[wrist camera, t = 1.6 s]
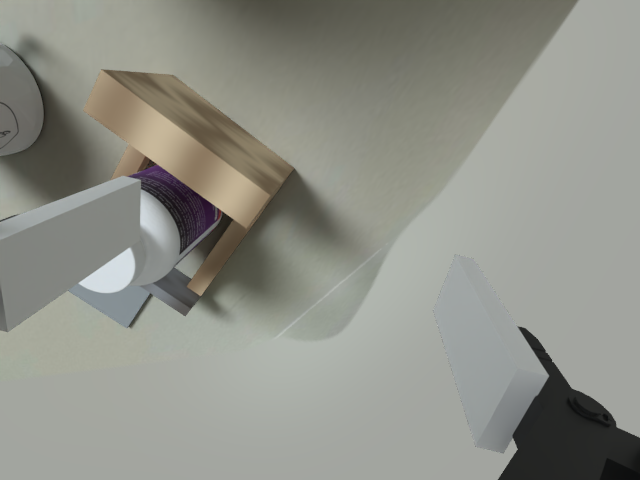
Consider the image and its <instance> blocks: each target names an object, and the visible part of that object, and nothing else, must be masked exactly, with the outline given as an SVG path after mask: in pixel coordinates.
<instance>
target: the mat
mask: <svg viewBox="0 0 640 480" xmlns="http://www.w3.org/2000/svg"><path fill="white" fill-rule="evenodd" d="M68 291H69V292H71V293H72V294H74V295H75V296H77V297H79V298H80V299H82V300H83V301H85V302H86V303H88V304H90V305H91V306H93V307H94V308H96V309H97V310H99V311H100V312H102V313H104V314H105V315H107V316H108V317H110V318H111V319H113V320H115V321H116V322H118V323H119V324H121V325H122V326H124V327H126V328H128V327H129V325H130V324H131V322H132V321H133V319H134V318H135V316H136V315H137V313H138V312H139V310H140V309H141V307H142V305H143V304H144V302H145V301H146V299H147V298H148V296H149V295H150V293H149V292H148V291H146V290H145V289H143V288H142V287H140V286H127V287H126V288H124V289H123V290H121V291H118V292H114V293H99V292H95V291H92V290H89V289H87V288H85V287H83V286H82V285H80V284H76V285H75V286H73V287H72V288H71V289H69V290H68Z"/></svg>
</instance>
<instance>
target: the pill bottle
mask: <svg viewBox="0 0 640 480" xmlns="http://www.w3.org/2000/svg"><path fill="white" fill-rule="evenodd" d="M127 177H131V178H135V179H139V180H141V206H140V241H138V242H137V243H135V244H134V245H132V246H131V247H130V248H128V249H127V250H125V251H124V252H122V253H121V254H120V255H118V256H117V257H115V258H114V259H112V260H111V261H109V262H108V263H107V264H105V265H104V266H102V267H101V268H99V269H98V270H96V271H95V272H94V273H92V274H91V275H89V276H88V277H86V278H85V279H84V280H82V281H81V282H79V283H78V284H80V285H82V286H83V287H85V288H87V289H89V290H92V291H95V292H99V293H114V292H118V291H121V290H123V289H124V288H126V287H127V286H141V285H147V284H150V283H153V282H156V281H158V280H160V279H161V278H163V277H164V276H165V275H167V274H168V273H169V272H170V271H171V270H172V269H173V268H174V267H175V266H176V265H177V264H178V263H179V262H180V261H181V260H182V259H183V258H184V257H185V256H186V255H187V254H188V253H189V252H190V251H192V250H193V249H194V248H195V247H196V246H197V245H198V244H199V243H200V242H201V241H202V240H203V239H204V238H205V237H206V236H207V235H209V234H210V233H211V232H212V231H213V230H214V229H215V228H216V226H217V225H218V223H219V222H220V220H221V217H222V214H223V211H221V210H220V209H219V208H217V207H216V206H214V205H213V204H212V203H210V202H209V201H208V200H206V199H205V198H203V197H202V196H201V195H199V194H198V193H196V192H195V191H194V190H192V189H191V188H190V187H188V186H187V185H185V184H184V183H183V182H181V181H180V180H178V179H177V178H176V177H174V176H173V175H172V174H170V173H169V172H167V171H166V170H165V169H163V168H162V167H160V166H159V165H156V166H153V167H151V168H148V169H146V170H143V171H140V172H138V173H135V174H132V175H130V176H127Z"/></svg>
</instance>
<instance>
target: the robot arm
mask: <svg viewBox="0 0 640 480" xmlns="http://www.w3.org/2000/svg"><path fill="white" fill-rule="evenodd" d="M140 206H141V180H139V179H135V178H131V177H126V176H121V177H118V178H115V179H113V180H110V181H108V182H105V183H102V184H100V185H97V186H94V187H92V188H89V189H86V190H84V191H81V192H78V193H76V194H73V195H70V196H68V197H65V198H62V199H60V200H57V201H54V202H52V203H49V204H46V205H44V206H41V207H38V208H36V209H33V210H30V211H28V212H25V213H22V214H19V215H14V216H11V217H8V218H6V219H3V220H0V330H1V331H5V332H9V331H10V330H11V329H13V328H14V327H16V326H17V325H19V324H20V323H22V322H23V321H24V320H26V319H27V318H29V317H30V316H32V315H33V314H35V313H36V312H37V311H39V310H40V309H42V308H43V307H45V306H46V305H47V304H49V303H50V302H52V301H53V300H55V299H56V298H58V297H59V296H60V295H62V294H63V293H65V292H66V291H68V290H69V289H71V288H72V287H73V286H75V285H76V284H78V283H79V282H81V281H82V280H84V279H85V278H86V277H88V276H89V275H91V274H92V273H94V272H95V271H96V270H98V269H99V268H101V267H102V266H104V265H105V264H107V263H108V262H109V261H111V260H112V259H114V258H115V257H117V256H118V255H120V254H121V253H122V252H124V251H125V250H127V249H128V248H130V247H131V246H132V245H134V244H135V243H137V242H138V241H140ZM433 312H434V315H435V318H436V321H437V325H438V328H439V331H440V334H441V338H442V341H443V344H444V347H445V350H446V353H447V356H448V360H449V363H450V366H451V370H452V373H453V376H454V379H455V382H456V385H457V389H458V392H459V395H460V399H461V402H462V405H463V408H464V411H465V415H466V418H467V421H468V424H469V427H470V430H471V434H472V437H473V440H474V443H475V446H476V447H480V448H484V449H488V450H492V451H496V452H500V453H504V452H505V450H506V448H507V446H508V445H509V443H510V441H511V440H512V438H513V439H514V441H515V443H516V445H517V448H518V450H517V451H516V453H515V454H514V456H513V458H512V459H511V460H510V462H509V464H508V465H507V467H506V468H505V470H504V471H503V473H502V474H501V476H500V477H499V479H498V480H640V438H639V437H637V436H635V435H632V434H630V433H628V432H626V431H623V430H621V429H619V428H617V427H616V421H615V420H614V419H613V417H612V415H611V414H610V413H609V412H608V411H607V410H606V409H605V408H604V407H603V406H602V405H601V404H600V403H598V402H597V401H595V400H594V399H593V398H591V397H589V396H587V395H585V394H583V393H582V392H579V391H576V390H573V389H572V388H571V387H570V385H569V384H568V382H567V381H566V379H565V378H564V377H563V375H562V374H561V372H560V371H559V369H558V368H557V367H556V365H555V364H554V362H552V359H551V358H550V356H549V355H548V353H545V349H544V348H543V346H542V345H541V343H540V342H539V340H538V339H537V338H536V337H534V336H533V335H532V334H531V333H530V332H529V331H528V330H527V329H525V328H522V327H518V326H517V325H516V324H515V322H514V321H513V319H512V317H511V316H510V314H509V313H508V311H507V310H506V308H505V307H504V305H503V303H502V302H501V301H500V299H499V297H498V296H497V294H496V292H495V291H494V290H493V288H492V286H491V285H490V283H489V282H488V280H487V278H486V277H485V276H484V274H483V272H482V271H481V269H480V267H479V266H478V264H477V263H476V261H475V260H474V259H473V258H468V257H464V256H460V255H455V256H454V259H453V261H452V264H451V267H450V269H449V272H448V274H447V277H446V279H445V282H444V285H443V287H442V289H441V292H440V294H439V297H438V300H437V302H436V304H435V308H434V310H433Z"/></svg>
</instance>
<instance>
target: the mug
mask: <svg viewBox="0 0 640 480" xmlns="http://www.w3.org/2000/svg"><path fill="white" fill-rule="evenodd" d="M43 117H44V112H43V103H42V98H41V94H40V91H39V88H38V86H37V83H36V81H35V79H34V77H33V76H32V74H31V72H30V71H29V69H28V68H27V67H26V65H25V64H24V63H23V62H22V60H21V59H20V58H19V57H18V56H17V55H16V54H15V53H14V52H12V51H11V50H10V49H9V48H8V47H6V46H5V45H3V44H2V43H0V156H3V155H9V154H13V153H17V152H20V151H23V150H25V149H27V148H28V147H30V146H31V145H32V144H33V143H34V142H35V141H36V139H37V138H38V136H39V134H40V132H41V129H42V125H43Z"/></svg>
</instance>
